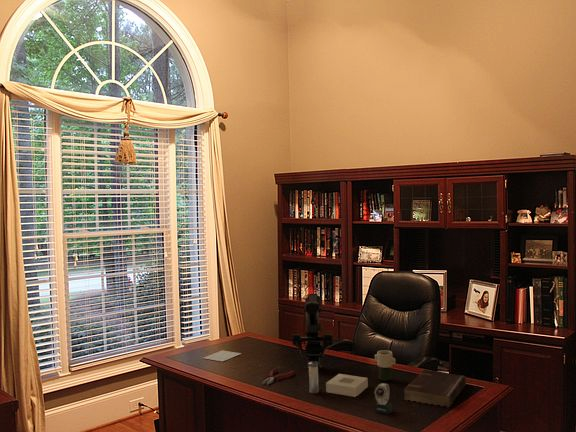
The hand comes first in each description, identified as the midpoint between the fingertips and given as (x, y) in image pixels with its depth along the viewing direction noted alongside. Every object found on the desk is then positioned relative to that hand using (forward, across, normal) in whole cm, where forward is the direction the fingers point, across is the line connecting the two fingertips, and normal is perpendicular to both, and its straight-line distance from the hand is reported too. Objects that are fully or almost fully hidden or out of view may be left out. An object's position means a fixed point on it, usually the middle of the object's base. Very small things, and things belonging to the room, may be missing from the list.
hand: (312, 356), depth 244 cm
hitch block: (+13, +15, +6) cm, 21 cm away
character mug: (+4, +33, +15) cm, 37 cm away
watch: (+31, +29, -12) cm, 44 cm away
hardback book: (+16, +54, +4) cm, 56 cm away
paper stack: (-18, -50, +39) cm, 66 cm away
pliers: (+3, -19, +18) cm, 26 cm away
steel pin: (+15, +1, +4) cm, 16 cm away
